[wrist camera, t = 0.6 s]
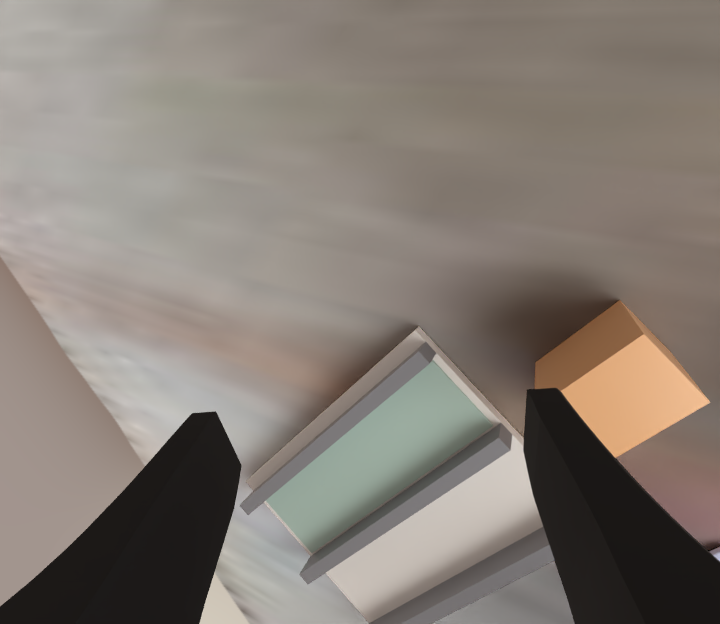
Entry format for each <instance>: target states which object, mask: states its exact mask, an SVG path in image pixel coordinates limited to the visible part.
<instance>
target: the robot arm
mask: <svg viewBox="0 0 720 624" xmlns="http://www.w3.org/2000/svg"><path fill="white" fill-rule="evenodd" d="M523 452H524V456H525V461H526V466H527V471H528V475H529V480H530V484H531V489H532V493H533V497H534V500H535V503H536V506H537V509H538V512H539V515H540V518H541V521H542V524H543V527H544V530H545V533H546V536H547V539H548V542H549V545H550V548H551V551H552V554H553V557H554V560H555V563H556V566H557V569H558V572H559V575H560V578H561V581H562V584H563V587H564V590H565V593H566V596H567V599H568V602H569V605H570V609H571V612H572V615H573V619H574V622H575V624H720V547H718V548H716V549H714V550H712V551H708V550H707V549H706V548H704V547H703V546H702V545H701V544H700V543H699V542H698V541H697V540H696V539H694V538H693V537H692V536H691V535H690V534H689V533H688V532H687V531H686V530H685V529H684V528H683V527H682V526H681V525H680V524H679V523H678V522H677V521H675V520H674V519H673V518H672V517H671V516H670V515H669V514H668V513H667V512H666V511H665V510H664V509H663V508H662V507H661V506H660V505H659V504H658V503H657V502H656V501H655V500H654V499H653V498H652V497H651V496H650V495H649V494H648V493H647V492H646V491H645V490H644V488H643V487H642V486H641V485H640V484H639V483H638V482H637V481H636V480H635V479H634V478H633V477H632V476H631V475H630V474H629V472H628V471H627V470H626V469H625V468H624V467H623V466H622V465H621V464H620V463H619V461H618V460H617V459H616V458H615V457H614V456H613V455H612V454H611V453H610V451H609V450H608V449H607V448H606V447H605V446H604V445H603V443H602V442H601V441H600V440H599V439H598V438H597V436H596V435H595V434H594V433H593V432H592V430H591V429H590V428H589V427H588V426H587V424H586V423H585V422H584V421H583V419H582V418H581V417H580V416H579V414H578V413H577V412H576V411H575V409H574V408H573V407H572V405H571V404H570V403H569V402H568V400H567V399H566V398H565V396H564V395H563V393H562V392H561V391H560V390H559V389H557V388H544V389H530V390H527V398H526V414H525V430H524V445H523ZM240 471H241V463H240V461H239V459H238V457H237V455H236V453H235V451H234V449H233V446H232V444H231V442H230V440H229V438H228V436H227V434H226V432H225V430H224V427H223V425H222V423H221V421H220V419H219V417H218V415H217V413H216V412H203V413H192V414H191V415H190V416H189V417H188V418H187V420H186V421H185V422H184V423H183V424H182V425H181V426H180V427H179V428H178V430H177V431H176V432H175V433H174V434H173V435H172V436H171V438H170V439H169V440H168V441H167V442H166V443H165V445H164V446H163V447H162V448H161V449H160V450H159V451H158V453H157V454H156V455H155V456H154V457H153V458H152V459H151V461H150V462H149V463H148V464H147V465H146V466H145V467H144V469H143V470H142V471H141V472H140V473H139V474H138V475H137V476H136V478H135V479H134V480H133V481H132V482H131V483H130V484H129V485H128V486H127V487H126V489H125V490H124V491H123V492H122V493H121V494H120V495H119V496H118V497H117V498H116V499H115V500H114V501H113V502H112V503H111V504H110V506H108V507H107V508H106V509H105V511H104V512H103V513H102V514H101V515H100V516H99V517H98V518H97V519H96V520H95V521H94V522H93V523H92V524H91V525H90V526H89V527H88V528H87V529H86V530H85V531H84V532H83V533H82V534H81V535H80V536H79V537H78V538H77V539H76V540H75V541H74V542H73V543H72V544H71V545H70V546H69V547H68V548H67V549H66V550H65V551H64V552H63V553H62V554H60V555H59V556H58V557H57V558H56V559H55V560H54V561H53V562H51V563H50V564H49V565H48V566H47V567H46V568H45V569H44V570H43V571H42V572H41V573H40V574H38V575H37V576H36V577H35V578H34V579H33V580H32V581H30V582H29V583H28V584H27V585H26V586H25V587H23V588H22V589H21V590H20V591H18V592H17V593H16V594H15V595H14V596H12V597H11V598H10V599H9V600H8V601H6V602H5V603H4V604H3V605H2V606H0V624H199V622H200V619H201V615H202V611H203V608H204V604H205V600H206V598H207V594H208V591H209V588H210V584H211V581H212V578H213V575H214V572H215V569H216V565H217V562H218V559H219V556H220V552H221V549H222V546H223V543H224V540H225V536H226V533H227V530H228V526H229V523H230V520H231V516H232V513H233V509H234V505H235V500H236V495H237V490H238V484H239V478H240Z"/></svg>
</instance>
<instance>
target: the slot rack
mask: <svg viewBox="0 0 720 624" xmlns="http://www.w3.org/2000/svg"><path fill="white" fill-rule="evenodd" d="M523 445H524V438H523V437H522V436H521V435H520V434H519V433H518V432H517V431H516V430H515V429H514V428H513V427H512V426H511V424H510V423H509V422H508V421H507V420H506V419H505V418H504V417H503V416H502V415H501V414H500V413H499V412H498V411H497V409H496V408H495V407H494V406H493V405H492V404H491V403H490V402H489V401H488V400H487V399H486V398H485V397H484V396H483V394H482V393H481V392H480V391H479V390H478V389H477V388H476V387H475V386H474V385H473V384H472V383H471V382H470V380H469V379H468V378H467V377H466V376H465V375H464V374H463V373H462V372H461V371H460V370H459V369H458V368H457V367H456V365H455V364H454V363H453V362H452V361H451V360H450V359H449V358H448V357H447V356H446V355H445V354H444V353H443V352H442V350H441V349H440V348H439V347H438V346H437V345H436V344H435V343H434V342H433V341H432V340H431V339H430V338H429V337H428V335H427V334H426V333H425V332H424V331H423V330H422V329H421V328H420V327H419V326H418V327H417V328H416V329H415V330H414V331H413V332H412V333H411V334H409V335H408V336H407V337H406V338H405V339H404V340H403V341H402V342H401V343H399V344H398V345H397V346H396V347H395V348H394V349H393V350H392V351H390V352H389V353H388V354H387V355H386V356H385V357H384V358H383V359H381V360H380V361H379V362H378V363H377V364H376V365H375V366H374V367H372V368H371V369H370V370H369V371H368V372H367V373H366V374H365V375H364V376H362V377H361V378H360V379H359V380H358V381H357V382H356V383H355V384H353V385H352V386H351V387H350V388H349V389H348V390H347V391H346V392H344V393H343V394H342V395H341V396H340V397H339V398H338V399H337V400H336V401H334V402H333V403H332V404H331V405H330V406H329V407H328V408H327V409H325V410H324V411H323V412H322V413H321V414H320V415H319V416H318V417H316V418H315V419H314V420H313V421H312V422H311V423H310V424H309V425H308V426H306V427H305V428H304V429H303V430H302V431H301V432H300V433H299V434H297V435H296V436H295V437H294V438H293V439H292V440H291V441H290V442H288V443H287V444H286V445H285V446H284V447H283V448H282V449H281V450H280V451H278V452H277V453H276V454H275V455H274V456H273V457H272V458H271V459H269V460H268V461H267V462H266V463H265V464H264V465H263V466H262V467H260V468H259V469H258V470H257V471H256V472H255V473H254V474H253V475H252V476H251V477H250V478H249V479H248V480H247V481H246V483H247V484H248V485H249V486H250V487H251V488H252V489H253V492H252V493H251V494H250V495H249V496H248V497H247V498H246V499H245V500H244V501H243V502H242V503H241V504H240V507H241V508H242V509H243V510H244V511H245V512H246V513H247V515H249V514H250V513H251V512H252V511H254V510H255V509H256V508H257V507H258V506H260V505H261V504H262V503H263V502H264V503H265V504H266V505H267V507H268V508H269V509H270V510H271V511H272V512H273V513H274V515H275V516H276V517H277V518H278V519H279V520H280V521H281V523H282V524H283V525H284V526H285V527H286V528H287V530H288V531H289V532H290V533H291V534H292V535H293V536H294V538H295V539H296V540H297V541H298V542H299V543H300V544H301V546H302V547H303V548H304V549H305V550H306V551H307V552H308V554H309V555H310V558H309V560H308V561H307V563H306V564H305V566H304V568H303V569H302V571H301V572H300V574H299V575H300V576H301V577H302V578H303V579H304V580H305V582H306V583H307V584H309V583H311V582H312V581H314V580H315V579H317V578H318V577H320V576H321V575H323V574H324V573H326V574H327V575H328V577H329V578H330V579H331V580H332V581H333V582H334V583H335V585H336V586H337V587H338V588H339V589H340V590H341V591H342V593H343V594H344V595H345V596H346V597H347V598H348V599H349V601H350V602H351V603H352V604H353V605H354V606H355V607H356V609H357V610H358V611H359V612H360V613H361V614H362V615H363V617H364V618H365V619H366V620H367V621H368V622H369V624H432V623H434V622H435V621H437V620H439V619H441V618H443V617H445V616H447V615H449V614H451V613H453V612H455V611H457V610H459V609H461V608H463V607H465V606H467V605H469V604H471V603H473V602H474V601H476V600H478V599H480V598H482V597H484V596H486V595H488V594H490V593H492V592H494V591H496V590H498V589H500V588H502V587H504V586H506V585H508V584H510V583H511V582H513V581H515V580H517V579H519V578H521V577H523V576H525V575H527V574H529V573H531V572H533V571H535V570H537V569H539V568H541V567H543V566H545V565H547V564H549V563H550V562H552V561H554V557H553V554H552V551H551V548H550V545H549V542H548V539H547V536H546V533H545V530H544V527H543V524H542V521H541V518H540V515H539V512H538V509H537V506H536V503H535V500H534V497H533V493H532V489H531V484H530V480H529V475H528V471H527V466H526V461H525V456H524V452H523Z"/></svg>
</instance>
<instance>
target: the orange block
mask: <svg viewBox="0 0 720 624" xmlns="http://www.w3.org/2000/svg"><path fill="white" fill-rule="evenodd" d="M544 388H557V389H559V390H560V391H561V392H562V393H563V395H564V396H565V398H566V399H567V400H568V402H569V403H570V404H571V405H572V407H573V408H574V409H575V411H576V412H577V413H578V414H579V416H580V417H581V418H582V419H583V421H584V422H585V423H586V424H587V426H588V427H589V428H590V429H591V430H592V432H593V433H594V434H595V435H596V436H597V438H598V439H599V440H600V441H601V442H602V443H603V445H604V446H605V447H606V448H607V449H608V450H609V451H610V453H611V454H612V455H613V456H614V457H615V458H616V457H618V456H619V455H621V454H623V453H624V452H626V451H628V450H630V449H631V448H633V447H635V446H636V445H638V444H640V443H642V442H643V441H645V440H647V439H648V438H650V437H652V436H654V435H655V434H657V433H659V432H660V431H662V430H664V429H666V428H667V427H669V426H671V425H672V424H674V423H676V422H678V421H679V420H681V419H683V418H684V417H686V416H688V415H690V414H691V413H693V412H695V411H696V410H698V409H700V408H702V407H703V406H705V405H707V404H708V403H710V401H709V400H708V399H707V397H706V396H705V395H704V393H703V392H702V391H701V390H700V388H699V387H698V386H697V385H696V383H695V382H694V381H693V380H692V378H691V377H690V376H689V375H688V373H687V372H686V371H685V370H684V368H683V367H682V366H681V365H680V363H679V362H678V361H677V359H676V358H675V357H674V356H673V354H672V353H671V352H670V351H669V350H668V349H667V348H666V347H665V346H664V345H663V344H662V343H661V342H660V341H659V340H658V339H657V338H656V337H655V336H654V334H653V333H652V332H651V331H650V330H649V329H648V328H647V327H646V326H645V325H644V324H643V323H642V322H641V321H640V320H639V319H638V318H637V317H636V316H635V315H634V314H633V313H632V312H631V311H630V310H629V309H628V308H627V307H626V306H625V305H624V304H623V303H622V302H621V301H620V300H619V301H618V302H616V303H615V304H614V305H612V306H611V307H610V308H608V309H607V310H606V311H604V312H603V313H602V314H600V315H599V316H598V317H596V318H595V319H594V320H592V321H591V322H589V323H588V324H587V325H585V326H584V327H583V328H581V329H580V330H579V331H577V332H576V333H575V334H573V335H572V336H571V337H569V338H568V339H566V340H565V341H564V342H562V343H561V344H560V345H558V346H557V347H556V348H554V349H553V350H552V351H550V352H549V353H548V354H546V355H545V356H543V357H542V358H541V359H539V360H538V361H537V362H535V389H544Z"/></svg>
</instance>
